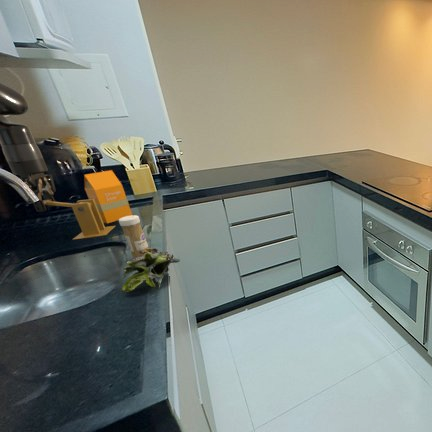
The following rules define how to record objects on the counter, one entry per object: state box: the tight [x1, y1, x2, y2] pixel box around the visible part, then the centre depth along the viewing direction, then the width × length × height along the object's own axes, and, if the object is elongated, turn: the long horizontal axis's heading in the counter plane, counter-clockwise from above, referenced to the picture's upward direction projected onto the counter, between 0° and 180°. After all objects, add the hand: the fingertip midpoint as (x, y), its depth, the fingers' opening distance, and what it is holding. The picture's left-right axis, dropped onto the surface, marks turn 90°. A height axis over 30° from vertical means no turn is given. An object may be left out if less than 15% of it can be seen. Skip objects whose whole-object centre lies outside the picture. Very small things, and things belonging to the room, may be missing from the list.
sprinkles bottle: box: [118, 214, 150, 261], centre depth 88 cm, size 5×5×13 cm
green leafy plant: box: [121, 247, 181, 294], centre depth 76 cm, size 11×11×12 cm
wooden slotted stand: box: [71, 198, 116, 241], centre depth 105 cm, size 9×9×13 cm
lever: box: [42, 198, 91, 208], centre depth 101 cm, size 12×5×2 cm, turn 113°
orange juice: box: [83, 169, 133, 224], centre depth 117 cm, size 8×9×20 cm
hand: (47, 208), depth 99 cm, fingers closed on lever, 5 cm apart
